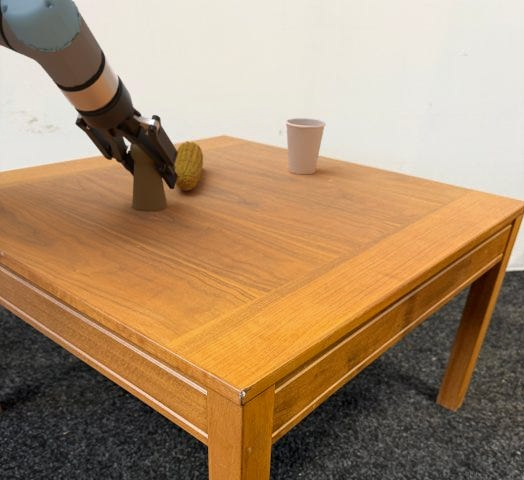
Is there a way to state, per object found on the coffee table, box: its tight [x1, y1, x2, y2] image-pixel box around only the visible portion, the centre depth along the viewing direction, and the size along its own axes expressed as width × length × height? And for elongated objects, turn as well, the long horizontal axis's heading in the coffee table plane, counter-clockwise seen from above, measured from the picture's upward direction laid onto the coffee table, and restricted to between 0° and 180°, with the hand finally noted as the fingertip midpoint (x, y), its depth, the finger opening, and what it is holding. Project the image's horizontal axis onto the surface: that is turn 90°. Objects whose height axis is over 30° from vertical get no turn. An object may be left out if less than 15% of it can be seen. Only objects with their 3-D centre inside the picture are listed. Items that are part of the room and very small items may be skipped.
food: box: [174, 141, 204, 191], centre depth 108 cm, size 21×6×6 cm, turn 5°
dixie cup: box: [284, 117, 327, 175], centre depth 116 cm, size 8×8×10 cm
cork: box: [129, 143, 168, 212], centre depth 93 cm, size 6×6×11 cm
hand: (158, 180), depth 97 cm, fingers closed on cork, 5 cm apart
